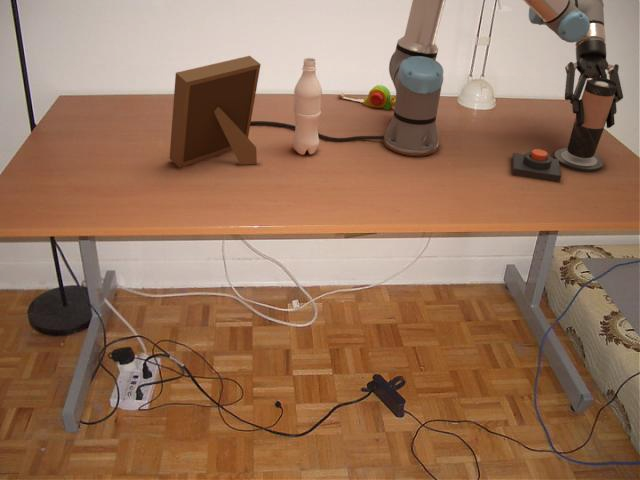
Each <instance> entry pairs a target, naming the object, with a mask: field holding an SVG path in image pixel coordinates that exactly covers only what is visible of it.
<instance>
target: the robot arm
mask: <svg viewBox="0 0 640 480" xmlns="http://www.w3.org/2000/svg"><path fill="white" fill-rule="evenodd" d="M523 2H524V3H525V4H526V5H527V6H528V20H529V22H530V23H531V24H533V25H538V26H543V25H544V26H546V27H547V28H548V29H549V30H551V31H552V32H554V33H555V35H556V36H557V37H558V38H559V39H561V41H564V42H566V43H571V44H573V43H574V45H575V60H576V62H572V61H569V63H568V64H566V65H565V67H564V69H565V73H566V78H565V88H564V100H565V101H569V103H570V104H571V106H572V107H571V108H572V113H573V114H575V118H576V124H577V127H580V126H581V125H582V124H583V123H584V112H583V99H582V98H581V97H582V94H583V93H582V92H583V91H584V88H585V86H586V82H587V79H588V80H590V79H593V78H594V77H600V78H606V79H609V80H612V81H614V82H616V83H617V89H616V92H615V95H614V98H613V101H612V105H611V108H610V111H609V114H608V117H607V120H606V124H605V126H606V129H611V128H612V127H613V126H614V125H615V124H616V123H615V115H616V114H617V112H618V111H617V110H618V109H617V103H619V102H620V101H622V100H623V99H624V94H623V89H622V85H621V80H620V76H619V69H620V68H619V67H620V66H619V64H614V65H613V64H609V62H608V61H607V44H606V41H607V39H606V29H605V15H604V6H605V5H604V1H603V0H523ZM445 4H446V0H412V1H411V6H410V10H409V14H408V18H407V23H406V29H405V31H404V35H403V36H402V37H401V38H399V39H397V42H396V48H395V50H394V52H393V54H391V57H390V59H389V63H388V72H389V73H388V74H389V77H390V79H391V81H392V84H393V86H394V90H395V97H396V98H395V99H396V100H395V106H394V109H393V116H392V117H391V118H392V119H391V121H390V122H389V124H388V127H387V129H386V131H385V133H384V135H358V136H357V135H356V136H349V137H333V136H328V135H324V134H322V133H319V132H318V137H319V139H323V140H325V141H333V142H350V141H357V140H383V145H384V147H385V148H386V149H388V150H389V151H391V152H393V153H396V154H398V155H401V156H406V157H427V156H431V155H433V154H434V153H436V152H437V151H438V149H439V143H440V140H439V133H438V129H437V122H436V121H437V115H438V109H439V105H440V98H441V92H442V88H443V87H442V86H443V83H444V67H443V66H442V64H441V63H440V62H439V61H437V57H438V53H439V48H438V46H437V45H436V44H437V43H436V39H437V34H438V32H439V27H440V23H441V21H442V20H441V19H442V16H443V12H444V9H445ZM576 70H577V71H578V73H579V77H578V79H577V84H576V85H575V76H576ZM606 71H607V72H606ZM574 87H575V89H574ZM580 98H581V99H580ZM251 125H252V126H253V125H261V126H263V125H264V126H267V125H268V126H275V127H276V126H277V127H283V128H288V129H292V130H295V127H296V125H293V124H289V123H285V122H277V121H266V120H251V124H250V126H251Z"/></svg>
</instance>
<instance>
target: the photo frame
mask: <svg viewBox="0 0 640 480" xmlns="http://www.w3.org/2000/svg"><path fill="white" fill-rule="evenodd" d="M260 70H261V63H260V62H259V61H258V60H256V59H255V58H254V57H252V56H251V55H247V56H242V57H238V58H234V59H229V60H225V61H221V62H220V61H219V62H216V63H211V64H208V65H203V66H199V67H193V68H191V69H185V70H182V71H181V70H180V71H177V72H175V77H174V78H175V79H174V89H173V90H174V91H173V103H172V104H173V106H172V118H171V132H170V147H169V160H171V162H172V163H174V164H175V166H177V167H178V168H179V169H180V168H183V167H187V166H190V165H192V164H195V163H198V162H201V161H204V160H207V159H211V158H213V157H216V156H220V155H223V154H225V153H228V152H231V151H233V154H234V155H235V158H236V160H237V162H238V164H239V165H240V166H241V165H242V166H243V165H256V164H258V158H257V154H258V153H257V146H256V145H255V144H254V143H253V142H252V141H251V140H250V138H249V136H250V135H249V134H250V130H251V129H250V128H251V125H250V124H251V121H252V117H253V112H254V106H255V100H256V95H257V88H258V83H259V76H260Z"/></svg>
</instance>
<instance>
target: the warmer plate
mask: <svg viewBox="0 0 640 480" xmlns="http://www.w3.org/2000/svg"><path fill="white" fill-rule="evenodd" d="M567 149H568V147H563V148H559V149H557V150H556V151H555V152H554V154H553V159H558V160H559V166H560V167H563V168H565V169H568V170H571V171H575V172H580V173H595V172H599V171H601V170H602V169H603V166H604V161H603V159H602V158H601V157H600V156H598V155H597V154H596V153H595V154H594V156H593V157H591V158H581V157H577V156H574V155H572V154H570V153H569V152H568V150H567Z"/></svg>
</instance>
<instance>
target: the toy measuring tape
mask: <svg viewBox="0 0 640 480" xmlns="http://www.w3.org/2000/svg"><path fill="white" fill-rule="evenodd" d="M338 98H339V99H340V100H341V99H344V100H349V101H353V102H359V103H361V104H362V105H363V106H366V107H371V108H375V109H382V110H386V111H390V110H391V109H392V108H393V107H395V100H396V95H393V96H392V97H391V91H390V90H389V88H388V87H386V86H385V85H382V84H378V85H377V84H376V85H375V86H374V87H372V88H371V89H370V91H368V95H367V97H366V98H365V99H364V98H362V99H361V98H352V97H347V96H346V94H345V93H344V92H341V93H340V94H339V95H338Z"/></svg>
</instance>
